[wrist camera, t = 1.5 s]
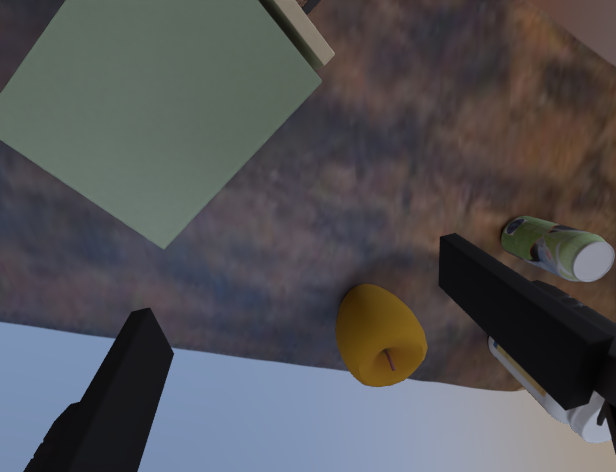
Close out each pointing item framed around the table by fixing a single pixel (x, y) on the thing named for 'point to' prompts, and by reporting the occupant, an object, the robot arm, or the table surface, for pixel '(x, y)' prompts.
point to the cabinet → (153, 102)
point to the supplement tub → (577, 418)
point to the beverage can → (558, 248)
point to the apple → (378, 336)
